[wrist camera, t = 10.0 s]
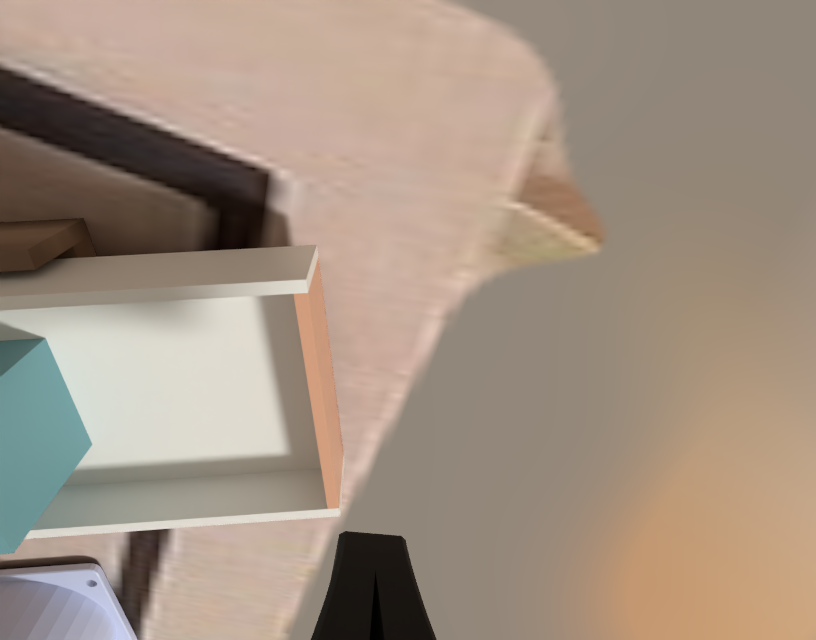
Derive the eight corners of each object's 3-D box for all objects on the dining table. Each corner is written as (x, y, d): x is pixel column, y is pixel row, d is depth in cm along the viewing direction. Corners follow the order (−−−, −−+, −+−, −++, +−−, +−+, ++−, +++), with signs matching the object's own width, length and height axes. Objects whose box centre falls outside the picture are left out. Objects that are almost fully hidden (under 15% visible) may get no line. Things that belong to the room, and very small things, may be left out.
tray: (344, 459, 20) (340, 516, 18) (-29, 485, 20) (-87, 547, 17) (316, 244, 16) (306, 279, 14) (-162, 270, 15) (-264, 311, 13)
